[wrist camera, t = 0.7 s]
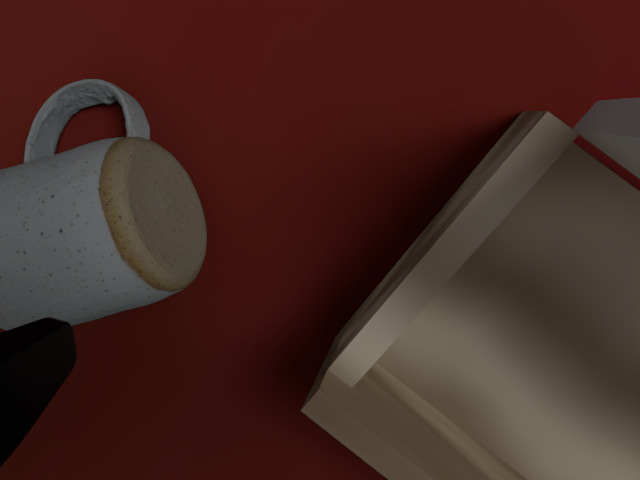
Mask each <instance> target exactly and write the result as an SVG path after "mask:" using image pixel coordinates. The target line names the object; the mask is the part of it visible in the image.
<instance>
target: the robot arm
mask: <svg viewBox="0 0 640 480" xmlns="http://www.w3.org/2000/svg"><path fill="white" fill-rule="evenodd" d="M76 357H77V355H76V348H75V341H74V334H73V329H72V326H71V325H70V323H68V322H66V321H63V320H60V319H57V318H53V317H45V318H42V319H39V320H36V321H33V322H30V323H27V324H25V325H22V326H19V327H16V328H13V329H10V330H7V331H4V332H1V333H0V467H1V466H2V465H3V463H4V462H5V461H6V460H7V459H8V457H9V456H10V455H11V454H12V453H13V451H14V450H15V449H16V448H17V446H18V445H19V444H20V443H21V441H22V440H23V439H24V437H25V436H26V435H27V433H28V432H29V431H30V429H31V428H32V427H33V425H34V424H35V422H36V421H37V419H38V418H39V417H40V415H41V414H42V412H43V411H44V409H45V408H46V406H47V405H48V404H49V402H50V401H51V399H52V398H53V396H54V395H55V394H56V392H57V391H58V389H59V388H60V386H61V385H62V384H63V382H64V381H65V379H66V378H67V376H68V375H69V374H70V372H71V371H72V369H73V367H74V365H75V362H76Z"/></svg>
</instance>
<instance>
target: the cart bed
mask: <svg viewBox="0 0 640 480" xmlns="http://www.w3.org/2000/svg"><path fill="white" fill-rule="evenodd" d="M578 135H579V134H578V133H577V132H575V131H574V130H573V129H571V128H570V127H568V126H567V125H566V124H564V123H563V122H562V121H560V120H559V119H558V118H556V117H555V116H554V115H552V114H551V113H549V112H548V111H523V112H522V113H521V114H520V115H519V116H518V118H517V119H516V120H515V121H514V122H513V124H512V125H511V126H510V127H509V128H508V130H507V131H506V132H505V133H504V134H503V136H502V137H501V138H500V139H499V140H498V142H497V143H496V144H495V145H494V146H493V148H492V149H491V150H490V151H489V152H488V154H487V155H486V156H485V157H484V158H483V160H482V161H481V162H480V163H479V164H478V166H477V167H476V168H475V169H474V170H473V172H472V173H471V174H470V175H469V176H468V178H467V179H466V180H465V181H464V183H463V184H462V185H461V186H460V187H459V189H458V190H457V191H456V192H455V193H454V195H453V196H452V197H451V198H450V199H449V201H448V202H447V203H446V204H445V205H444V207H443V208H442V209H441V210H440V211H439V213H438V214H437V215H436V216H435V217H434V219H433V220H432V221H431V222H430V223H429V225H428V226H427V227H426V228H425V229H424V231H423V232H422V233H421V234H420V235H419V237H418V238H417V239H416V240H415V241H414V243H413V244H412V245H411V246H410V247H409V249H408V250H407V251H406V252H405V253H404V255H403V256H402V257H401V258H400V260H399V261H398V262H397V263H396V264H395V266H394V267H393V268H392V269H391V270H390V272H389V273H388V274H387V275H386V276H385V278H384V279H383V280H382V281H381V282H380V284H379V285H378V286H377V287H376V288H375V290H374V291H373V292H372V293H371V294H370V296H369V297H368V298H367V299H366V300H365V302H364V303H363V304H362V305H361V306H360V308H359V309H358V310H357V311H356V312H355V314H354V315H353V316H352V317H351V318H350V320H349V321H348V322H347V323H346V324H345V326H344V327H343V328H342V329H341V330H340V332H339V333H338V334H337V335H336V337H335V339H334V341H333V343H332V345H331V347H330V350H329V352H328V354H327V356H326V358H325V360H324V362H323V364H322V367H321V369H320V371H319V373H318V375H317V377H316V379H315V381H314V383H313V386H312V388H311V390H310V392H309V394H308V396H307V398H306V400H305V402H304V405H303V407H302V409H301V412H303V413H304V414H305V415H307V416H308V417H309V418H310V419H312V420H313V421H314V422H315V423H317V424H318V425H319V426H321V427H322V428H323V429H324V430H326V431H327V432H328V433H329V434H331V435H332V436H333V437H335V438H336V439H337V440H338V441H340V442H341V443H342V444H343V445H345V446H346V447H347V448H349V449H350V450H351V451H352V452H354V453H355V454H356V455H357V456H359V457H360V458H361V459H363V460H364V461H365V462H366V463H368V464H369V465H370V466H372V467H373V468H374V469H375V470H377V471H378V472H379V473H380V474H382V475H383V476H384V477H386V478H387V479H388V480H640V191H638V190H637V189H636V188H634V187H633V186H632V185H630V184H629V183H628V182H626V181H625V180H623V179H622V178H621V177H619V176H618V175H617V174H615V173H614V172H613V171H611V170H610V169H609V168H607V167H606V166H605V165H603V164H602V163H600V162H599V161H598V160H596V159H595V158H594V157H592V156H591V155H590V154H588V153H587V152H586V151H584V150H583V149H581V148H580V147H579V146H577V145H576V144H575V143H573V140H574V139H575V138H576V137H577V136H578Z"/></svg>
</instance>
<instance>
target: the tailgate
mask: <svg viewBox="0 0 640 480" xmlns="http://www.w3.org/2000/svg"><path fill="white" fill-rule="evenodd" d="M573 130H574V131H575V132H577V133H578V134H579V135H581V136H582V137H584V138H585V139H586V140H588V141H589V142H590V143H592V144H593V145H594V146H596V147H597V148H598V149H600V150H601V151H603V152H604V153H605V154H607V155H608V156H609V157H611V158H612V159H613V160H615V161H616V162H617V163H619V164H620V165H621V166H623V167H624V168H626V169H627V170H628V171H630V172H631V173H632V174H634V175H635V176H636V177H638V178H639V179H640V98H628V99H614V100H601V101H597V102H596V103H595V104H594V105H593V106H592V107H591V109H590V110H589V111H588V112H587V113H586V114H585V115H584V116H583V118H582V119H581V120H580V121H579V122H578V123H577V124H576V126H575V127H574V128H573Z"/></svg>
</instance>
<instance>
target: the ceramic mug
mask: <svg viewBox="0 0 640 480" xmlns="http://www.w3.org/2000/svg"><path fill="white" fill-rule="evenodd" d="M116 101H118V102H119V104H120V105H121V106H122V110H123V114H124V117H125V120H126V121H125V126H126V131H127V134H126V137H119V138H111V139H104V140H99V141H96V142H92V143H89V144H85V145H82V146H79V147H77V148H74V149H71V150H69V151H65V152H62V153H59V154H56V155H55V151H56V147H57V143H58V140H59V137H60V135H61V133H62V131H63V129H64V127H65V125H66V124H67V123H68V121H69V119H70V118H71V117H72V116H73V114H75V113H77V112H78V111H79V110H80V109H83V108H86V107H90V106H94V105H98V104H102V103H105V104H109V105H110V104H112V103H114V102H116ZM206 245H207V228H206V222H205V217H204V213H203V208H202V205H201V202H200V199H199V196H198V194H197V191H196V189H195V187H194V185H193V183H192V181H191V179H190V177H189V175H188V174H187V172H186V171H185V170H184V168H183V167H182V165H181V164H180V163H179V162H178V161H177V160H176V158H175V157H174V156H173V155H172V154H171V153H170V152H168V151H167V150H165V149H164V148H163V147H161V146H160V145H158V144H156V143H155V142H153V141H151V140H150V129H149V124H148V121H147V119H146V117H145V113H144V111H143V109H142V108H141V106H140V105H139V103H138V102H137V101H136V100H135V99H134V98H133V97H132V96H131V95H129V94H128V93H126V92H125V91H123V90H122V89H120V88H119V87H117V86H115V85H114V84H112V83H109V82H106V81H104V80H99V79H85V80H80V81H76V82H73V83H70V84H68V85H66V86H64V87H62V88H61V89H59V90H58V91H56V92H55V93H54V94H53V95H52V96H51V97H49V98H48V100H47V101H46V102H45V103H44V104H43V106H42V107H41V109H40V110H39V112H38V114H37V115H36V117H35V119H34V121H33V123H32V126H31V129H30V132H29V135H28V138H27V141H26V146H25V155H24V163H23V164H20V165H17V166H13V167H9V168H5V169H1V170H0V328H2V329H4V330H10V329H13V328H16V327H19V326H22V325H25V324H27V323H30V322H33V321H36V320H39V319H42V318H45V317H53V318H57V319H60V320H63V321H66V322H68V323H70V325H71V326H73V325H77V324H80V323H84V322H88V321H92V320H95V319H98V318H102V317H105V316H108V315H112V314H115V313H118V312H121V311H124V310H128V309H133V308H137V307H141V306H145V305H148V304H152V303H155V302H157V301H160V300H162V299H165V298H167V297H169V296H171V295H173V294H175V293H177V292H180V291H181V290H183V289H184V288H186V287H187V286H188V285H189V284H191V283H192V282H193V281H194V280H195V278H196V277H197V275H198V273H199V271H200V269H201V266H202V264H203V260H204V257H205V253H206Z"/></svg>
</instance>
